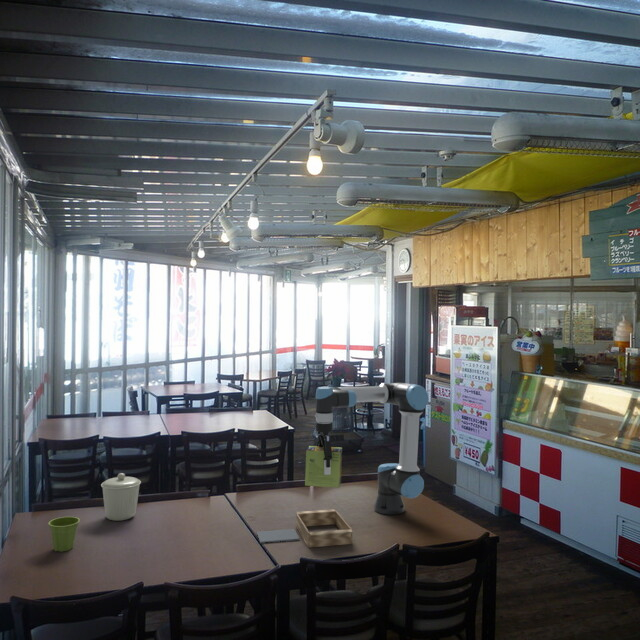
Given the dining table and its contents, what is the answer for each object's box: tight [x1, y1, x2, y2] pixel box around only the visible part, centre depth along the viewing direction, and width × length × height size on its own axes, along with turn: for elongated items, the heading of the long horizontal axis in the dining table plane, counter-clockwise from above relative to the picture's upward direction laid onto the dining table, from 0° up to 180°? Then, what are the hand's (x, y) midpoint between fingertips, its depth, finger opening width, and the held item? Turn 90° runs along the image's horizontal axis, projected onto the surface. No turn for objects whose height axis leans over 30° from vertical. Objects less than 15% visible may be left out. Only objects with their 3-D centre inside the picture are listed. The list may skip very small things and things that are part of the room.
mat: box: [256, 528, 300, 544], centre depth 252 cm, size 17×12×1 cm
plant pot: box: [48, 516, 81, 553], centre depth 236 cm, size 12×12×11 cm
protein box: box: [304, 445, 343, 489], centre depth 255 cm, size 10×15×16 cm
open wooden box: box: [295, 508, 353, 548], centre depth 255 cm, size 19×30×6 cm, turn 14°
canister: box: [100, 472, 142, 522], centre depth 275 cm, size 18×18×21 cm
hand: (323, 470), depth 255 cm, fingers closed on protein box, 12 cm apart
